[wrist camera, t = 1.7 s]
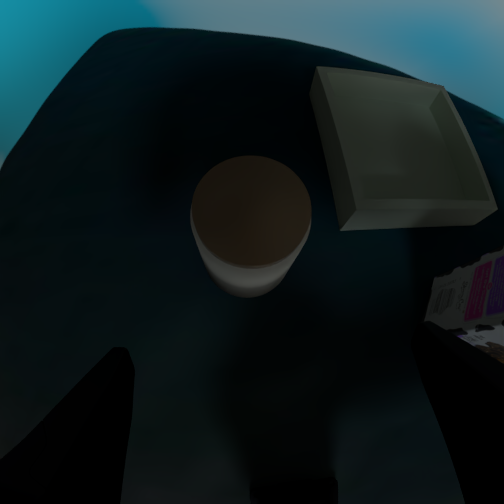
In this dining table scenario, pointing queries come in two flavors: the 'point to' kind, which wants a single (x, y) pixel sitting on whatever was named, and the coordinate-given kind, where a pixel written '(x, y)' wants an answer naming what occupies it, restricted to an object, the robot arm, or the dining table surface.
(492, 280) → the candy box
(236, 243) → the jar
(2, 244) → the dining table surface
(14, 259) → the dining table surface
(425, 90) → the bin
